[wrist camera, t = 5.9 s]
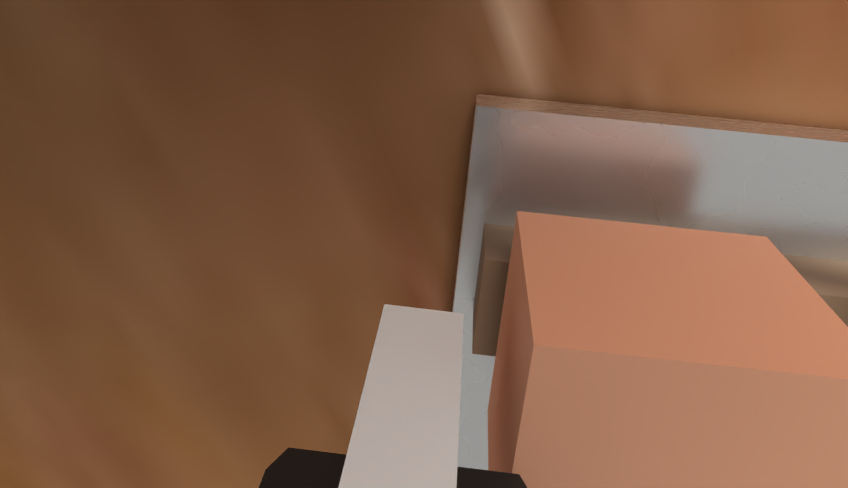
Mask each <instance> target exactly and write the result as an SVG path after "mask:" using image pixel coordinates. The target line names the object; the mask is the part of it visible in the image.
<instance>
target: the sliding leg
mask: <svg viewBox="0 0 848 488" xmlns="http://www.w3.org/2000/svg"><path fill="white" fill-rule="evenodd" d="M487 414H488V470H489V471H497V472H505V473H513V474H519V475H520V476H521V478H522V480H523V481H524V483H525V485H526V486H527V488H848V327H847V326H846V325H845V323H844V322H843V321H842V320H841V319H840V318H839V317H838V316H837V315H836V313H835V312H834V311H833V310H832V309H831V308H830V307H829V306H828V305H827V303H826V302H825V301H824V300H823V299H822V298H821V297H820V296H819V294H818V293H817V292H816V291H815V290H814V289H813V288H812V287H811V286H810V284H809V283H808V282H807V281H806V280H805V279H804V278H803V277H802V276H801V274H800V273H799V272H798V271H797V270H796V269H795V268H794V267H793V266H792V264H791V263H790V262H789V261H788V260H787V259H786V258H785V257H784V256H783V254H782V253H781V252H780V251H779V250H778V249H777V248H776V247H775V246H774V244H773V243H772V242H771V241H770V240H769V239H768V238H767V237H764V236H755V235H745V234H735V233H726V232H716V231H706V230H697V229H687V228H677V227H668V226H658V225H648V224H639V223H629V222H619V221H609V220H600V219H590V218H580V217H571V216H561V215H551V214H542V213H532V212H522V211H517V214H516V221H515V228H514V235H513V241H512V248H511V255H510V262H509V268H508V275H507V282H506V289H505V295H504V302H503V309H502V316H501V322H500V329H499V336H498V343H497V349H496V356H495V363H494V370H493V376H492V383H491V390H490V397H489V403H488V410H487Z"/></svg>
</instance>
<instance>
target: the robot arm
mask: <svg viewBox="0 0 848 488" xmlns="http://www.w3.org/2000/svg"><path fill="white" fill-rule="evenodd" d="M463 320H464V313H455V312H447V311H439V310H430V309H422V308H413V307H405V306H397V305H388V304H384V307H383V311H382V315H381V319H380V323H379V327H378V331H377V335H376V339H375V343H374V347H373V351H372V355H371V359H370V363H369V367H368V371H367V375H366V379H365V383H364V387H363V391H362V395H361V399H360V403H359V407H358V411H357V415H356V419H355V423H354V427H353V431H352V435H351V439H350V443H349V447H348V451H347V455H344V454H336V453H328V452H320V451H312V450H304V449H295V448H288V449H287V450H286V451H285V452H284V453H282V454H281V455H280V456H279V457H278V458H277V459H276V460H275V461H274V462H273V463H272V464H271V465H270V466H269V467H268V468H267V469H266V470H265V473H264V476H263V478H262V481H261V483H260V486H259V488H527V486H526V485H525V483H524V481H523V480H522V478H521V476H520V475H519V474H513V473H505V472H497V471H489V470H481V469H473V468H465V467H457V465H458V441H459V417H460V393H461V369H462V344H463Z"/></svg>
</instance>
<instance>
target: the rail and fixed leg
mask: <svg viewBox="0 0 848 488" xmlns="http://www.w3.org/2000/svg"><path fill="white" fill-rule="evenodd" d="M514 228H515V226H506V225H496V224H486V223H484V228H483V236H482V244H481V252H480V260H479V267H478V275H477V283H476V291H475V299H474V306H473V340H472V354H478V355H487V356H496V349H497V343H498V336H499V329H500V322H501V316H502V309H503V302H504V295H505V289H506V282H507V275H508V268H509V262H510V255H511V248H512V241H513V235H514ZM783 256H784V257H785V258H786V259H787V260H788V261H789V262H790V263H791V264H792V266H793V267H794V268H795V269H796V270H797V271H798V272H799V273H800V274H801V276H802V277H803V278H804V279H805V280H806V281H807V282H808V283H809V284H810V286H811V287H812V288H813V289H814V290H815V291H816V292H817V293H818V294H819V296H820V297H821V298H822V299H823V300H824V301H825V302H826V303H827V305H828V306H829V307H830V308H831V309H832V310H833V311H834V312H835V313H836V315H837V316H838V317H839V318H840V319H841V320H842V321H843V322H844V323H845V325H846V326H847V327H848V261H842V260H833V259H823V258H814V257H804V256H794V255H785V254H783Z"/></svg>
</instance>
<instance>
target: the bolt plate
mask: <svg viewBox="0 0 848 488" xmlns="http://www.w3.org/2000/svg"><path fill="white" fill-rule="evenodd" d="M517 211H522V212H532V213H542V214H551V215H561V216H571V217H580V218H590V219H600V220H609V221H619V222H629V223H639V224H648V225H658V226H668V227H677V228H687V229H697V230H706V231H716V232H726V233H735V234H745V235H755V236H764V237H767V238H768V239H769V240H770V241H771V242H772V243H773V244H774V246H775V247H776V248H777V249H778V250H779V251H780V252H781V253H782V254H785V255H794V256H804V257H814V258H823V259H833V260H842V261H848V130H839V129H829V128H819V127H809V126H798V125H788V124H778V123H768V122H758V121H748V120H737V119H727V118H717V117H707V116H697V115H687V114H677V113H666V112H656V111H646V110H636V109H626V108H616V107H605V106H595V105H585V104H575V103H565V102H555V101H544V100H534V99H524V98H514V97H504V96H494V95H484V94H477V96H476V105H475V114H474V123H473V131H472V140H471V149H470V158H469V167H468V175H467V184H466V193H465V202H464V210H463V219H462V228H461V237H460V245H459V254H458V263H457V272H456V281H455V289H454V298H453V307H452V312H455V313H464V320H463V344H462V369H461V393H460V417H459V441H458V465H457V467H465V468H473V469H481V470H488V414H487V410H488V403H489V397H490V390H491V383H492V376H493V370H494V363H495V356H487V355H478V354H472V340H473V306H474V299H475V291H476V283H477V275H478V267H479V260H480V252H481V244H482V236H483V228H484V223H486V224H496V225H506V226H515V221H516V214H517Z"/></svg>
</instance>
